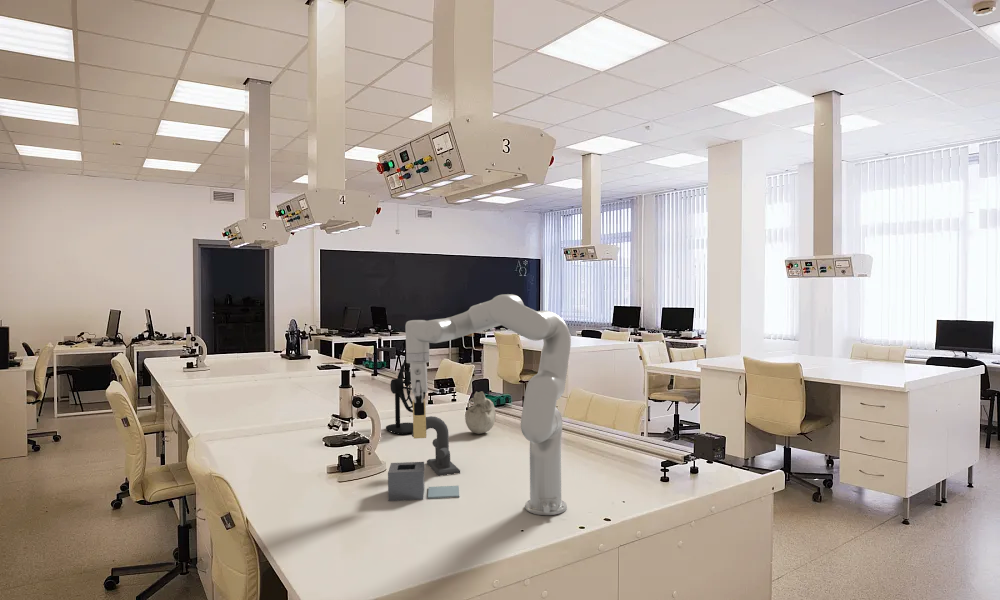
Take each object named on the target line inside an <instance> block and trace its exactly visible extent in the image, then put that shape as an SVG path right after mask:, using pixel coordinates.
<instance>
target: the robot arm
mask: <svg viewBox="0 0 1000 600" xmlns="http://www.w3.org/2000/svg"><path fill="white" fill-rule="evenodd" d="M500 326H502V327H504V328H506V329H508V330H510V331H511V332H514V333H516V334H517V335H519V336H521V337H523V338H525V339H527V340H531V341H543V344H542V350H541V352H540V360H539V365H538V371H537V374H534V375H533V376H532V377H531V378H530V379H529V380H528V382H527V385H526V388H525V393H524V397H523V404H522V410H521V418H520V430H521V433H522V435H523V436H524V438H525V439H526V440H527V441H529V498H530V499H528V500H527V501H526V502H525V504H524V508H525V510H526V511H528V512H529V513H531V514H534V515H539V516H553V515H554V516H555V515H560V514H562V513H565V511H566V510H567V503H566V502H565V500H562V435H563V416H562V414H561V412H560V410H559V409H558V408H557V401H558V400H559V399H560V398H562V396H563V394H564V393H565V389H566V382H567V374H568V367H569V359H570V353H571V345H572V344H571V343H572V342H571V341H572V339H571V331H570V330H569V327H568V325H567V323H566V322H565V321H564V319H563V318H562V317H560V316H559V315H558V314H556V313H555V312H552V311H550V310H538V311H537V310H535V309H533V308H530V307H528V306H526V305H525V304H524V302H523V300H522V299H521V297H519V296H518V295H516V294H513V293H511V294H509V293H507V294H503V293H502V294H499V295H495V296H494V297H493V298H492V299H490V300H487V301H484V302H480V303H478V304H474V305H472V306H470V307H469V309H468V310H466V311H464V312H461V313H458V314H455V315H453V316H449V317H446V318H436V319H429V320H425V319H412V320H408V321H406V322H405V327H404V328H405V352H406V355H405V359H406V363H410V369H409V373H410V382H411V384H410V385H411V388H412V390H411V393H412V394H413V395H414V399H415V403H414V415H424V402H423V399H424V394H423V392H425V393H426V394H427V393H428V388H429V385H428V365H427V363H430V362H431V361H430V344H438V343H443V342H448V341H452V340H453V341H454V340H456V339H459V338H463V337H465V336H468V335H471V334H474V333H480V332H484V331H486V330H490V329H493V328H496V327H500ZM414 399H413V400H414Z"/></svg>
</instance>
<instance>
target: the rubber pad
mask: <svg viewBox="0 0 1000 600" xmlns="http://www.w3.org/2000/svg"><path fill="white" fill-rule="evenodd" d="M427 492H428V493H427V499H428V500H430V499H432V500H433V499H450V497H457V498H460V485H443V486H442V485H441V486H439V485H437V486H428V491H427Z"/></svg>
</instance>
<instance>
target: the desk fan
mask: <svg viewBox="0 0 1000 600" xmlns="http://www.w3.org/2000/svg"><path fill="white" fill-rule="evenodd" d="M406 365H408V366H407V369H406V370H405V368H406ZM404 373H405V380H404ZM409 373H410V363H406V358H405V359H404V361H403V363H402V364H401V366H400V369H399V371H398V374H397V378H393V379H391V380H390V385H389V386H390V391H391V394H394V401H395V402H394V404H395V405H394V407H395V408H394V412H395V417H394V418H395V420H394V421H395V423H392V424H388V425H386V426H385V430H386V429H388V430H390V431H392V432H395V433H399V434H398V435H408V434H407V433H412V432H413V422H401V401H402V404H403V406H404V408H405V409H406V411H408V412H409V413H412V414H413V399H412V398H411V392H412V387H411V378H410V376H409ZM404 384H405V386H404ZM405 390H406V395H407V398H406V396H405ZM423 394H424V399H425V400H426V394H427V393H425V392H423ZM408 401H409V403H410V405H411V406H410V405H409V404H408ZM388 430H387V431H388ZM390 431H389V432H390ZM392 432H391V433H392Z"/></svg>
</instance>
